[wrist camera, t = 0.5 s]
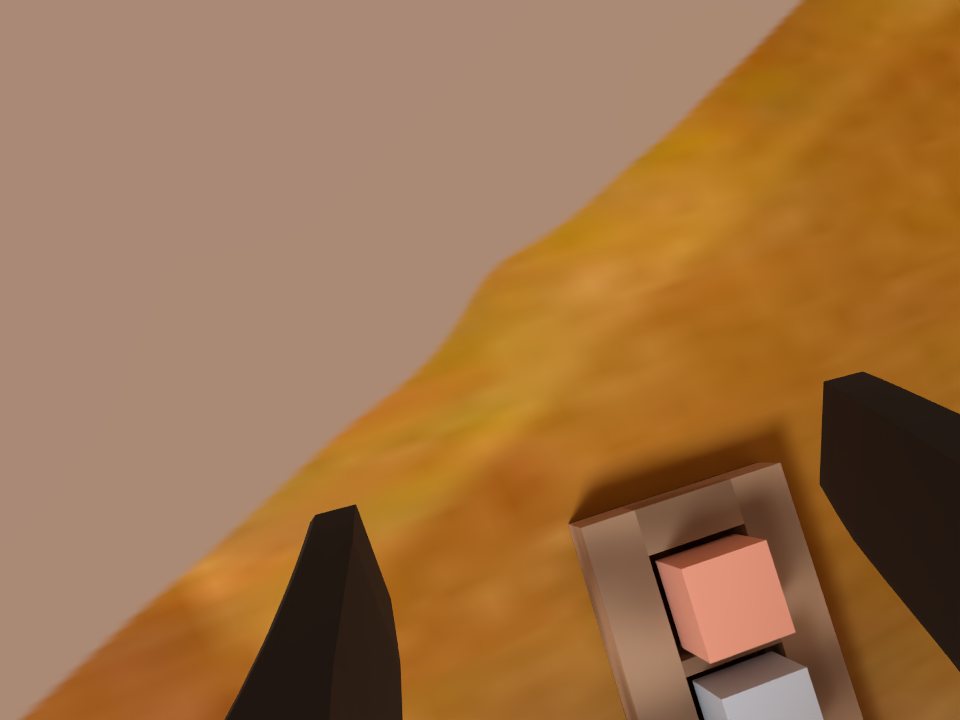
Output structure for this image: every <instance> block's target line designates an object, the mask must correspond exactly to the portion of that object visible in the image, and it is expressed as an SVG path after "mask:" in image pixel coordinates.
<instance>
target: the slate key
mask: <svg viewBox="0 0 960 720" xmlns="http://www.w3.org/2000/svg"><path fill="white" fill-rule="evenodd" d="M692 681H693V684H694V688H695V691H696V694H697V697H698V701H699V704H700V707H701V710H702V714H703V717H704V720H824V719H823V716H822V713H821V710H820V707H819V704H818V701H817V697H816V694H815V691H814V688H813V685H812V682H811V679H810V675H809V672H808V669H807V667H805V666H803V665H801V664H799V663H796V662H794V661H792V660H790V659H788V658H786V657H783V656H781V655H779V654H777V653H775V652H773V651H770V652H767V653H765V654H762V655H759V656H757V657H754V658H751V659H749V660H746V661H743V662H740V663H738V664H735V665H732V666H730V667H727V668H724V669H722V670H719V671H716V672H714V673H711V674H708V675H706V676H703V677H700V678H697V679H695V680H692Z"/></svg>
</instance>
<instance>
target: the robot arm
mask: <svg viewBox="0 0 960 720" xmlns="http://www.w3.org/2000/svg"><path fill="white" fill-rule="evenodd" d="M820 486H821V487H822V489H823V491H824V492H825V494H826V496H827V498H828V499H829V501H830V503H831V504H832V506H833V508H834V509H835V511H836V513H837V515H838V516H839V518H840V519H841V521H842V522H843V524H844V526H845V527H846V529H847V530H848V532H849V533H850V535H851V537H852V538H853V540H854V541H855V542H856V544H857V545H858V546H859V547H860V549H861V550H862V551H863V553H864V554H865V555H866V556H867V558H868V559H869V560H870V561H871V563H872V564H873V565H874V566H875V568H876V569H877V570H878V571H879V573H880V574H881V575H882V576H883V578H884V579H885V580H886V581H887V583H888V584H889V585H890V586H891V587H892V589H893V590H894V591H895V592H896V594H897V595H898V596H899V597H900V598H901V600H902V601H903V602H904V603H905V605H906V606H907V607H908V608H909V609H910V611H911V612H912V613H913V614H914V616H915V617H916V618H917V619H918V621H919V622H920V623H921V624H922V625H923V627H924V628H925V629H926V630H927V632H928V633H929V634H930V635H931V636H932V638H933V639H934V640H935V641H936V643H937V644H938V645H939V646H940V647H941V649H942V650H943V651H944V652H945V654H946V655H947V656H948V657H949V658H950V660H951V661H952V662H953V664H954V665H955V666H956V668H957V669H958V670H959V672H960V414H958V413H956V412H954V411H951V410H949V409H947V408H945V407H943V406H940V405H938V404H936V403H934V402H932V401H929V400H927V399H925V398H923V397H921V396H918V395H916V394H914V393H912V392H909V391H907V390H905V389H903V388H901V387H898V386H896V385H894V384H891V383H889V382H887V381H885V380H882V379H880V378H877V377H875V376H872V375H870V374H867V373H865V372H859V373H855V374H851V375H847V376H844V377H840V378H836V379H832V380H828V381H825V382H824V388H823V413H822V438H821V463H820ZM225 720H402V694H401V668H400V657H399V650H398V643H397V636H396V630H395V623H394V617H393V610H392V604H391V598H390V596H389V593H388V590H387V587H386V585H385V582H384V579H383V577H382V574H381V571H380V568H379V566H378V563H377V560H376V558H375V555H374V552H373V549H372V547H371V544H370V541H369V539H368V536H367V533H366V530H365V528H364V525H363V522H362V520H361V517H360V514H359V512H358V509H357V506H356V505H352V506H348V507H344V508H340V509H336V510H333V511H329V512H325V513H321V514H317V515H315V516H314V518H313V519H312V521H311V522H310V525H309V528H308V531H307V534H306V537H305V540H304V543H303V546H302V549H301V552H300V555H299V557H298V560H297V563H296V566H295V568H294V571H293V574H292V576H291V579H290V581H289V584H288V586H287V589H286V592H285V594H284V596H283V599H282V601H281V603H280V606H279V608H278V610H277V613H276V615H275V618H274V620H273V622H272V625H271V627H270V629H269V632H268V634H267V636H266V638H265V641H264V643H263V645H262V647H261V649H260V651H259V653H258V655H257V657H256V659H255V661H254V663H253V665H252V667H251V669H250V671H249V673H248V676H247V678H246V680H245V682H244V684H243V686H242V688H241V690H240V692H239V694H238V696H237V698H236V699H235V701H234V703H233V705H232V707H231V709H230V711H229V712H228V714H227V716H226V718H225Z"/></svg>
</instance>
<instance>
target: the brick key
mask: <svg viewBox="0 0 960 720" xmlns="http://www.w3.org/2000/svg"><path fill="white" fill-rule="evenodd" d="M656 564H657V567H658V571H659V574H660V577H661V580H662V584H663V587H664V590H665V593H666V597H667V600H668V603H669V606H670V610H671V613H672V616H673V619H674V623H675V626H676V629H677V632H678V636H679V639H680V642H681V645H682V648H684V649H686V650H687V651H689V652H691V653H693V654H694V655H696V656H698V657H699V658H701V659H703V660H705V661H706V662H708V663H710V664H711V663H714V662H717V661H719V660H722V659H725V658H728V657H730V656H733V655H736V654H738V653H741V652H744V651H746V650H749V649H752V648H755V647H757V646H760V645H763V644H765V643H768V642H771V641H774V640H776V639H779V638H782V637H784V636H787V635H790V634H792V633H795V628H794V625H793V622H792V619H791V616H790V613H789V610H788V606H787V603H786V600H785V597H784V594H783V591H782V588H781V584H780V581H779V578H778V575H777V572H776V569H775V566H774V563H773V559H772V556H771V553H770V550H769V547H768V544H767V541H766V540H764V539H759V538H754V537H749V536H743V535H738V534H732V535H729V536H726V537H723V538H720V539H718V540H715V541H712V542H709V543H706V544H703V545H700V546H697V547H694V548H691V549H688V550H685V551H682V552H679V553H676V554H673V555H671V556H668V557H665V558H662V559H659V560H656Z"/></svg>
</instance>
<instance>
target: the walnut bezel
mask: <svg viewBox="0 0 960 720" xmlns="http://www.w3.org/2000/svg"><path fill="white" fill-rule="evenodd" d="M568 525H569V528H570V532H571V535H572V538H573V542H574V545H575V548H576V552H577V555H578V558H579V562H580V565H581V568H582V572H583V575H584V578H585V582H586V585H587V588H588V592H589V595H590V598H591V602H592V605H593V608H594V612H595V615H596V618H597V622H598V625H599V628H600V632H601V635H602V638H603V642H604V645H605V648H606V652H607V655H608V658H609V661H610V665H611V668H612V671H613V675H614V678H615V681H616V685H617V688H618V691H619V695H620V698H621V701H622V705H623V708H624V711H625V715H626V718H627V720H699V719H698V715H697V712H696V709H695V706H694V702H693V699H692V696H691V693H690V689H689V686H688V683H687V680H686V677H689V676H691V675H694V674H697V673H699V672H702V671H705V670H708V669H710V668H713V667H716V666H718V665H721V664H724V663H726V662H729V661H732V660H735V659H737V658H740V657H743V656H745V655H748V654H751V653H753V652H756V651H759V650H761V649H764V651H765V653H767V652H770V651H773V652H775V653H777V654H779V655H781V656H783V657H786V658H788V659H790V660H792V661H794V662H796V663H799V664H801V665H803V666H805V667H807V669H808V672H809V675H810V679H811V682H812V685H813V688H814V691H815V694H816V697H817V701H818V704H819V707H820V710H821V713H822V716H823V719H824V720H863V717H862V714H861V711H860V708H859V705H858V701H857V698H856V695H855V692H854V689H853V686H852V683H851V680H850V677H849V674H848V670H847V667H846V664H845V661H844V658H843V655H842V652H841V649H840V646H839V642H838V639H837V636H836V633H835V630H834V627H833V624H832V621H831V618H830V615H829V611H828V608H827V605H826V602H825V599H824V596H823V593H822V590H821V587H820V584H819V580H818V577H817V574H816V571H815V568H814V565H813V562H812V559H811V556H810V553H809V549H808V546H807V543H806V540H805V537H804V534H803V531H802V528H801V525H800V522H799V518H798V515H797V512H796V509H795V506H794V503H793V500H792V497H791V494H790V490H789V487H788V484H787V481H786V478H785V475H784V472H783V469H782V466H781V463H755V464H752V465H749V466H745V467H742V468H739V469H736V470H733V471H730V472H727V473H724V474H721V475H718V476H715V477H712V478H709V479H706V480H702V481H699V482H696V483H693V484H690V485H687V486H684V487H681V488H678V489H675V490H672V491H669V492H666V493H662V494H659V495H656V496H653V497H650V498H647V499H644V500H641V501H638V502H635V503H632V504H629V505H626V506H623V507H619V508H616V509H613V510H610V511H607V512H604V513H601V514H598V515H595V516H592V517H589V518H586V519H583V520H580V521H576V522H573V523H570V524H568ZM724 530H727V533H728V536H729V535H732V534H738V535H743V536H749V537H754V538H759V539H764V540H766V541H767V544H768V547H769V550H770V553H771V556H772V559H773V563H774V566H775V569H776V572H777V575H778V578H779V581H780V584H781V588H782V591H783V594H784V597H785V600H786V603H787V606H788V610H789V613H790V616H791V619H792V622H793V625H794V628H795V633H792V634H790V635H787V636H784V637H782V638H779V639H776V640H774V641H771V642H768V643H765V644H763V645H760V646H757V647H755V648H752V649H749V650H746V651H744V652H741V653H738V654H736V655H733V656H730V657H728V658H725V659H722V660H719V661H717V662H714V663H711V664H710V663H708V662H706V661H705V660H703V659H701V658H699V657H698V656H696V655H694V654H693V653H691V652H689V651H687V650H686V649H684V648H682V645H681V644H679V645H677V646H676V644H675V640H674V637H673V634H672V631H671V627H670V624H669V621H668V618H667V614H666V611H665V608H664V605H663V601H662V598H661V595H660V592H659V588H658V585H657V582H656V579H655V575H654V572H653V569H652V566H651V562H650V559H649V556H650V555H653V554H656V553H659V552H662V551H665V550H668V549H671V548H674V547H677V546H680V545H683V544H686V543H689V542H691V541H694V540H697V539H700V538H703V537H706V536H709V535H712V534H715V533H718V532H721V531H724Z"/></svg>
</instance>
